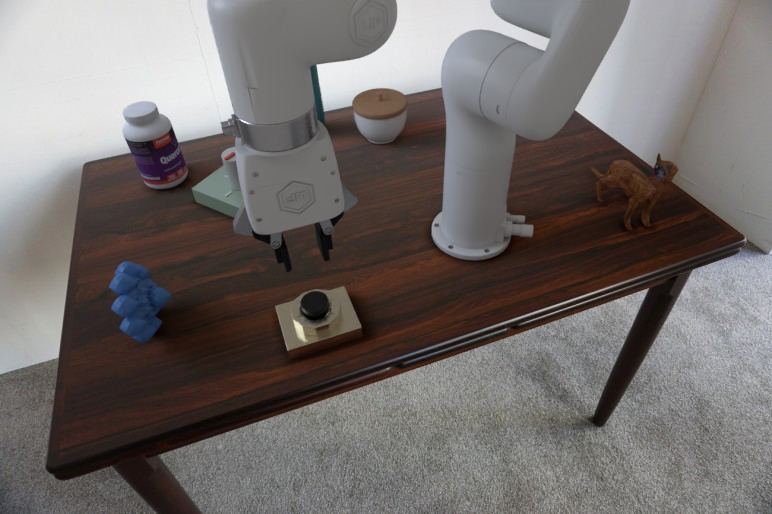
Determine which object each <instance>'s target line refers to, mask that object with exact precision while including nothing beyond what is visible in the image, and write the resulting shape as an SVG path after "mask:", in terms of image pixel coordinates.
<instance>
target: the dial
mask: <svg viewBox="0 0 772 514" xmlns="http://www.w3.org/2000/svg"><path fill="white" fill-rule="evenodd" d="M220 157H221V160H222V164H223V165H224V167H225V170H226V174H227V177H228V180H229V184H230V187H231V188H232V189H234V190H241V187H240V182H239V177H238V170H237V164H236V153H235V146H232V147H228V148H226V149H224V150H223V152H222V153H221V155H220Z"/></svg>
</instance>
